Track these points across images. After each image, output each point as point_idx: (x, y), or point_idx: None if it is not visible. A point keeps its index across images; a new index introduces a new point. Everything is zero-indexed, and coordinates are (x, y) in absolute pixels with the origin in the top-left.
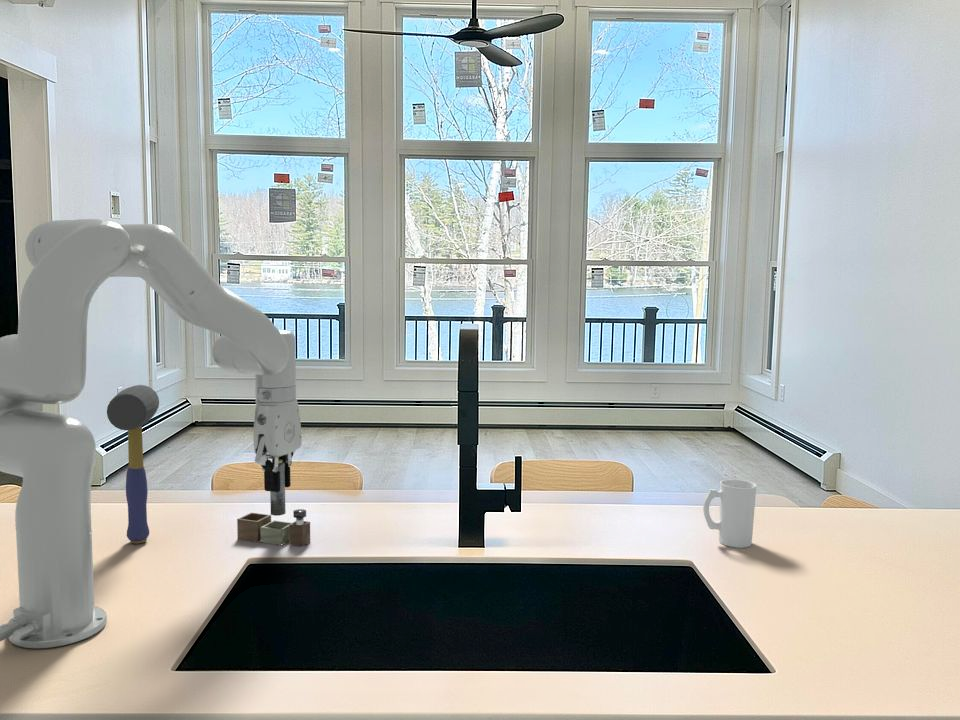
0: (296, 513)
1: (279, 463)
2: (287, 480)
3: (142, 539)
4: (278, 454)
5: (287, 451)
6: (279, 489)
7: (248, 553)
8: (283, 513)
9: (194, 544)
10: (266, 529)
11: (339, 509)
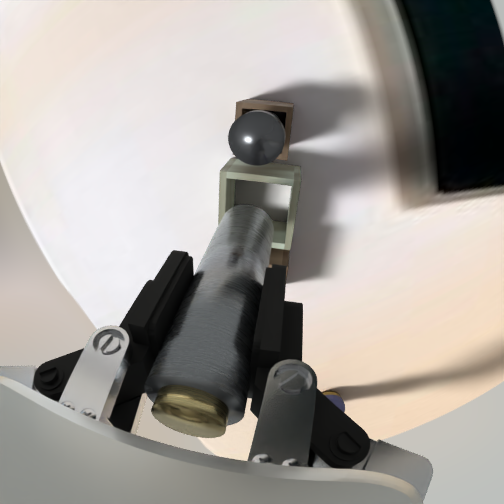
0: (284, 141)
1: (211, 397)
2: (180, 277)
3: (337, 396)
4: (377, 495)
5: (184, 477)
6: (281, 269)
7: (373, 223)
8: (253, 207)
9: (329, 339)
10: (293, 229)
11: (29, 165)
